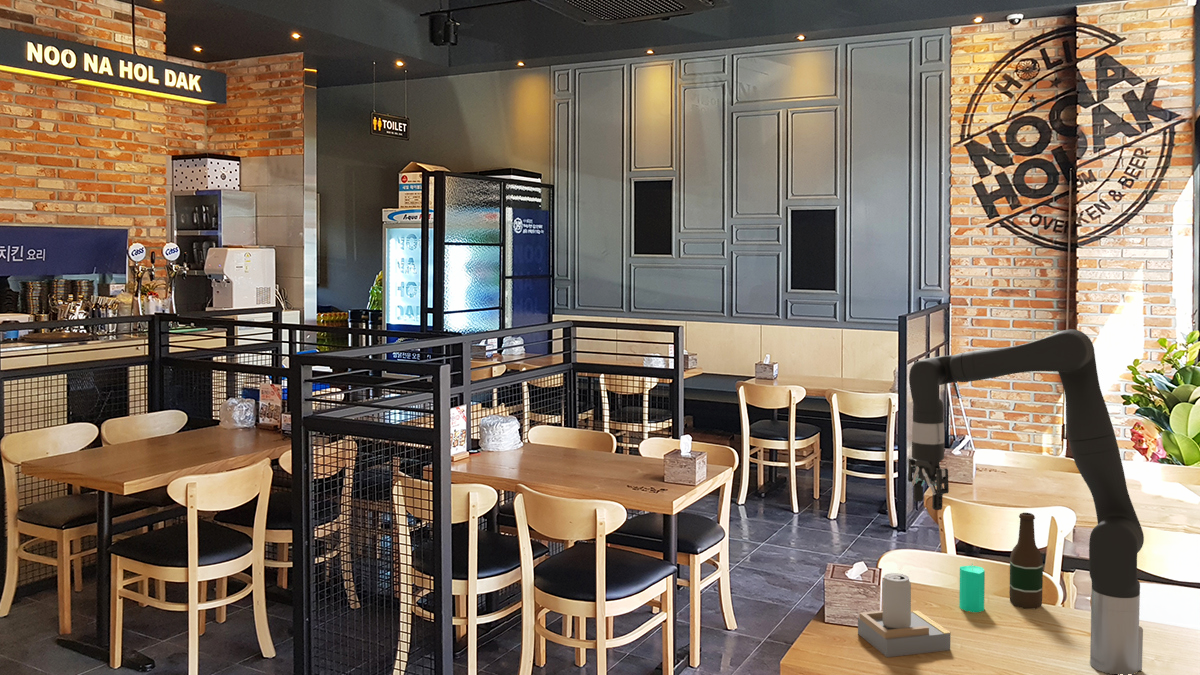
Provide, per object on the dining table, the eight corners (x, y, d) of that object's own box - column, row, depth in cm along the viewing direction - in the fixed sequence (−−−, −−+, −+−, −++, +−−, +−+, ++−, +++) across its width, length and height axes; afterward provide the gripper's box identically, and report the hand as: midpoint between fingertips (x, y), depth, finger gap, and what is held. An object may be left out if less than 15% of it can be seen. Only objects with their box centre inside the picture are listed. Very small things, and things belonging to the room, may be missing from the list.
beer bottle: (1008, 606, 240) (1009, 515, 239) (1010, 597, 247) (1011, 508, 245) (1041, 611, 237) (1043, 519, 235) (1042, 601, 244) (1044, 511, 242)
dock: (917, 627, 228) (918, 605, 228) (950, 650, 215) (950, 626, 214) (857, 633, 225) (857, 611, 225) (886, 657, 211) (887, 633, 211)
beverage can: (912, 632, 215) (912, 582, 214) (883, 630, 217) (883, 580, 216) (909, 622, 221) (909, 572, 220) (881, 620, 223) (881, 571, 222)
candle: (960, 611, 238) (960, 565, 237) (958, 603, 244) (958, 558, 243) (985, 613, 236) (986, 567, 235) (983, 605, 242) (983, 560, 241)
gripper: (958, 444, 220) (958, 511, 221) (926, 434, 234) (925, 497, 235) (930, 446, 219) (929, 513, 220) (898, 435, 232) (898, 499, 234)
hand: (927, 505), depth 228 cm, fingers open, 8 cm apart
